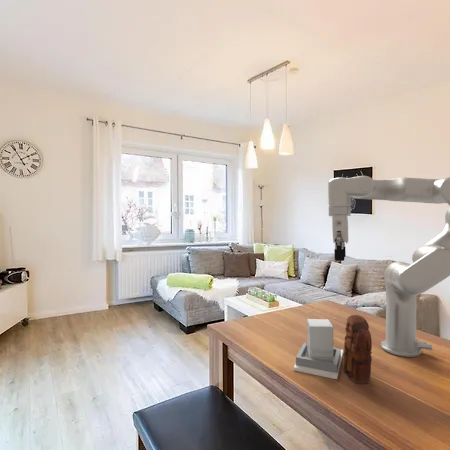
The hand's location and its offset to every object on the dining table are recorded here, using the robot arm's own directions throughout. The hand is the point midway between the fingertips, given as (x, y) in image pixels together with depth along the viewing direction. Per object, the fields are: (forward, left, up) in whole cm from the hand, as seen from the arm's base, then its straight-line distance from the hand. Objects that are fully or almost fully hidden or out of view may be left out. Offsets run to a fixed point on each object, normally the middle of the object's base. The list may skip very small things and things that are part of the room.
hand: (340, 258), depth 115 cm
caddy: (+5, +15, -33) cm, 36 cm away
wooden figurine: (-7, +20, -33) cm, 39 cm away
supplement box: (+5, +17, -32) cm, 36 cm away
